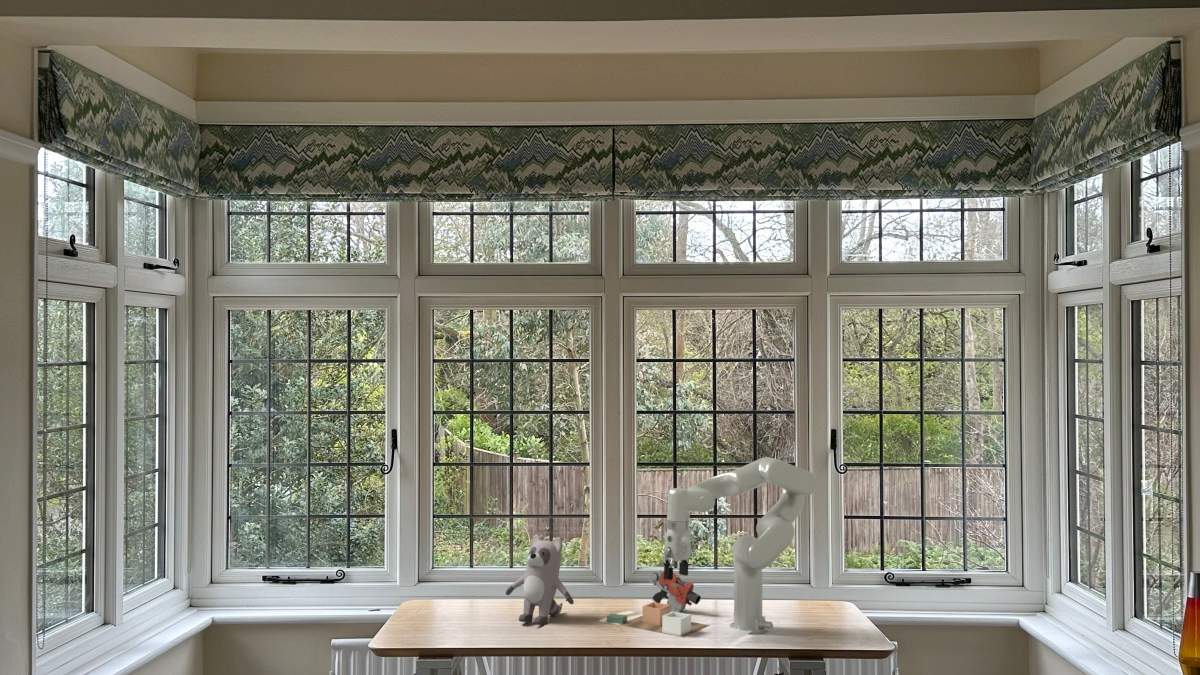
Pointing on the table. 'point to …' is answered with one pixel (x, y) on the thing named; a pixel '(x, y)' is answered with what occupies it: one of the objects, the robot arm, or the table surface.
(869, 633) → the table surface
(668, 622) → the white open cubby box
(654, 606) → the peach open cubby box
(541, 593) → the toy
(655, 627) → the board
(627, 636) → the table surface
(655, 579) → the toy gun
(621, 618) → the tin
